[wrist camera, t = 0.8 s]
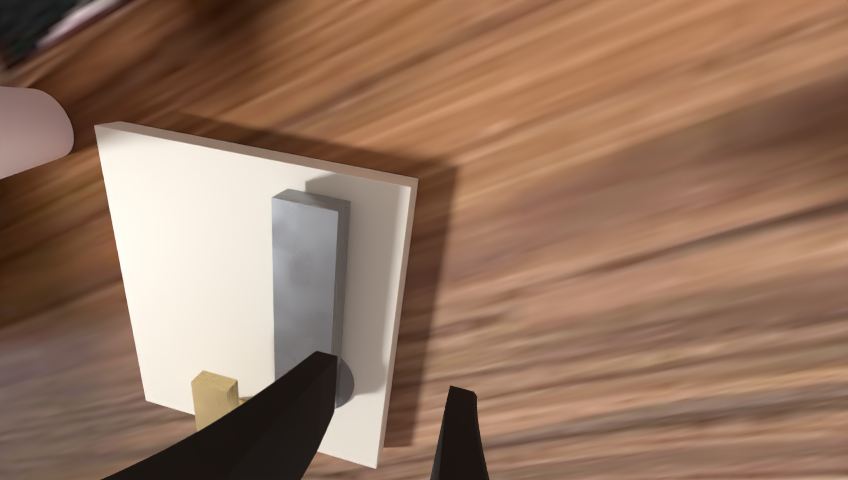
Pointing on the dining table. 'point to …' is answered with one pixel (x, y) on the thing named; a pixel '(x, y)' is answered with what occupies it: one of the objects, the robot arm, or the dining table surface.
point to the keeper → (213, 397)
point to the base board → (249, 268)
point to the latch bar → (308, 276)
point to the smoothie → (31, 130)
